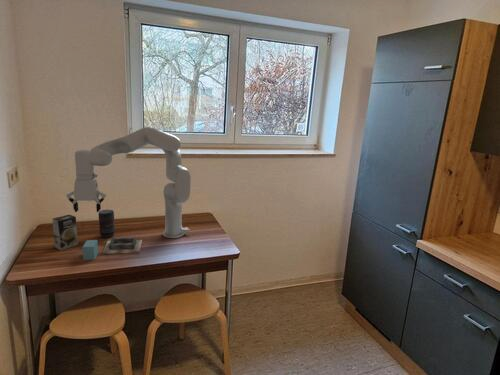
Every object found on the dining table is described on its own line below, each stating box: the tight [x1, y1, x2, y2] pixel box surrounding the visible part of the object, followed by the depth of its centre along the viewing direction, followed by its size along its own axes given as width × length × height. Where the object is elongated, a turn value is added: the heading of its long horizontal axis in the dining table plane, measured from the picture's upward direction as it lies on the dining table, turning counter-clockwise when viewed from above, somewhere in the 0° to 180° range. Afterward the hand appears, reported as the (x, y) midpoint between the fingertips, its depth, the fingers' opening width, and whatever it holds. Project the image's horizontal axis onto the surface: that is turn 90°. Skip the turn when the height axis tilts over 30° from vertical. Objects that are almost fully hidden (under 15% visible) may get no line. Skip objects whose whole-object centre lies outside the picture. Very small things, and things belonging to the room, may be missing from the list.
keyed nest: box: [102, 237, 143, 255], centre depth 177 cm, size 18×14×4 cm
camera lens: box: [98, 209, 116, 239], centre depth 188 cm, size 8×8×15 cm
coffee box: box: [52, 214, 79, 251], centre depth 173 cm, size 9×6×16 cm
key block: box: [82, 239, 99, 261], centre depth 165 cm, size 5×8×7 cm, turn 12°
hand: (87, 211), depth 160 cm, fingers open, 9 cm apart
